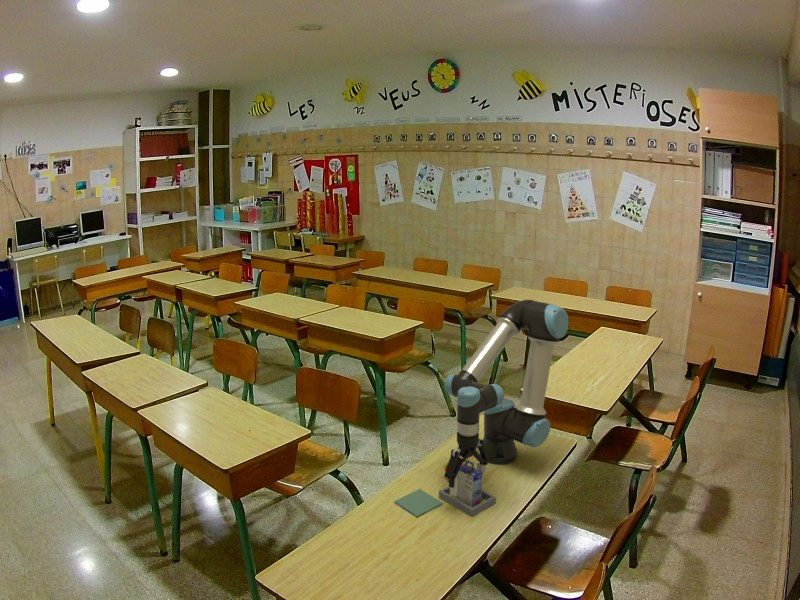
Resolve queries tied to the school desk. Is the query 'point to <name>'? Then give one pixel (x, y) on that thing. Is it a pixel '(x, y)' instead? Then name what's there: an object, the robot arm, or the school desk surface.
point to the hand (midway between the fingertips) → (466, 487)
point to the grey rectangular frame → (465, 508)
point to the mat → (418, 503)
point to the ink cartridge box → (469, 485)
